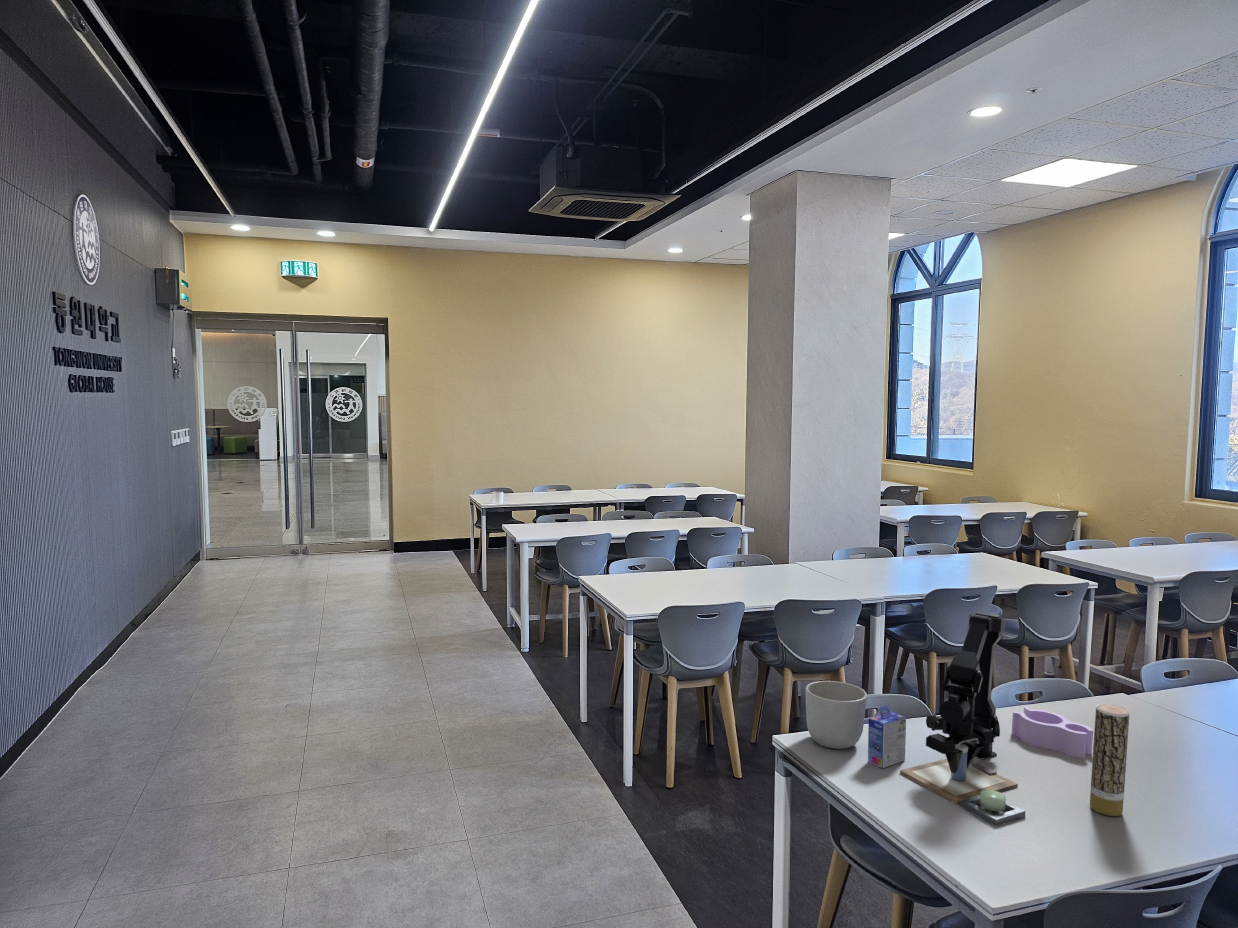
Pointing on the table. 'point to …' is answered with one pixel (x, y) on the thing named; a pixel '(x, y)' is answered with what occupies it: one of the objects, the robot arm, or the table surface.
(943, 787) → the clipboard
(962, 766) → the blue cylinder
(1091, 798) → the paper tube
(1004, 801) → the button
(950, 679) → the robot arm
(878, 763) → the ink cartridge box
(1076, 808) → the table surface
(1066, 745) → the clip
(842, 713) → the planter
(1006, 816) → the button bezel
